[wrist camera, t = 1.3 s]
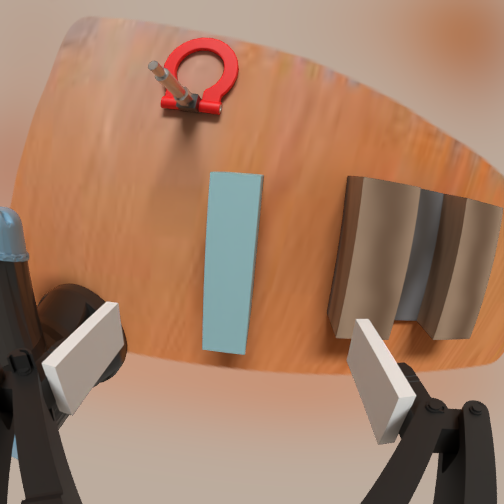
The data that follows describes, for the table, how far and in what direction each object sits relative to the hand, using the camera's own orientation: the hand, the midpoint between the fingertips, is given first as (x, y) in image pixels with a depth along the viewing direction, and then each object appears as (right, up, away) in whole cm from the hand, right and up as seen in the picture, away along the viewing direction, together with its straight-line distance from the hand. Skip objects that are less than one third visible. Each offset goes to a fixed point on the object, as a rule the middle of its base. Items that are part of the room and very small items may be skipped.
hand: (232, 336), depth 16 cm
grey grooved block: (+20, +4, +17) cm, 26 cm away
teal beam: (0, +5, +18) cm, 19 cm away
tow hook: (-5, +24, +14) cm, 28 cm away
